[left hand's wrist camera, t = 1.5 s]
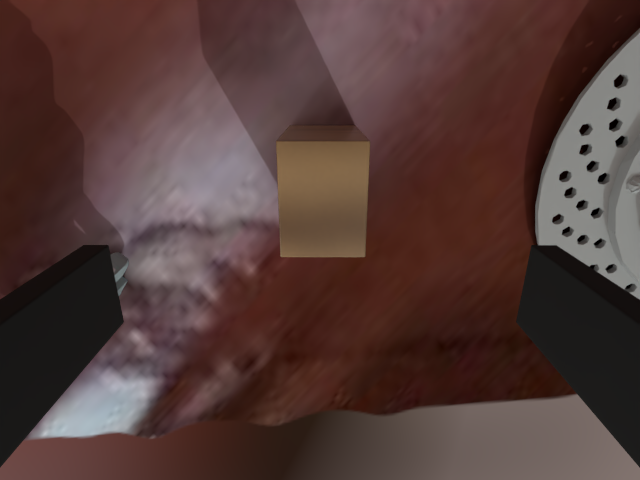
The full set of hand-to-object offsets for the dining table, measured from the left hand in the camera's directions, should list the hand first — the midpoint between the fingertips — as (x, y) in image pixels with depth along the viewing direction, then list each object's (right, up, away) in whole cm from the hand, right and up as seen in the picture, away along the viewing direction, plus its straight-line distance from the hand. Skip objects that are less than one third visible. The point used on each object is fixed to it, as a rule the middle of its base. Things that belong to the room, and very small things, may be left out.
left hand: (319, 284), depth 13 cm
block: (0, +7, +18) cm, 19 cm away
